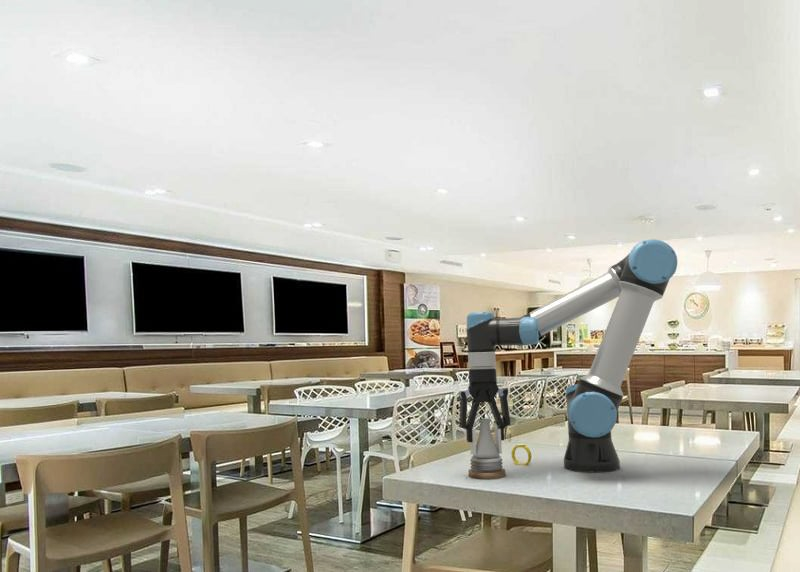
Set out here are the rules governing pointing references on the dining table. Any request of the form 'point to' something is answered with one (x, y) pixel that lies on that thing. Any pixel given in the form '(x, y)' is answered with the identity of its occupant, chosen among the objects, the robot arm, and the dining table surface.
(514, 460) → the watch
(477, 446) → the flask
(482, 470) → the pedestal
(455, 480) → the dining table surface
